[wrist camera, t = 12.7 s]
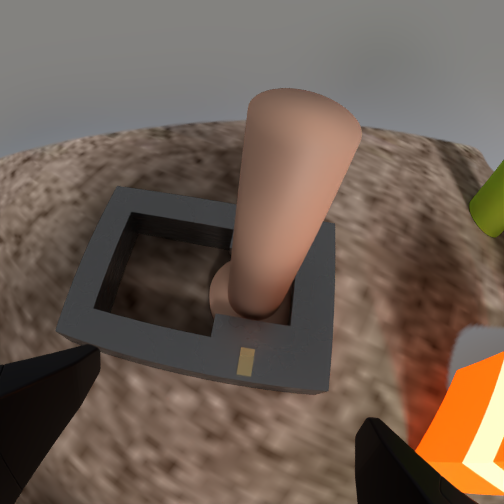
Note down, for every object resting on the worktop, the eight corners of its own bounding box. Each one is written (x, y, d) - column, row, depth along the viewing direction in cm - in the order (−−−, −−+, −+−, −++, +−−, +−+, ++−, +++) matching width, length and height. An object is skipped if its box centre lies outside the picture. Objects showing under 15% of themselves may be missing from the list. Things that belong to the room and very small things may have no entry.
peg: (211, 345, 19) (203, 183, 7) (208, 265, 22) (209, 69, 10) (299, 340, 20) (425, 194, 7) (288, 263, 23) (360, 85, 10)
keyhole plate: (72, 342, 18) (54, 329, 16) (124, 208, 24) (116, 184, 22) (314, 394, 18) (329, 390, 16) (323, 243, 25) (335, 222, 22)
